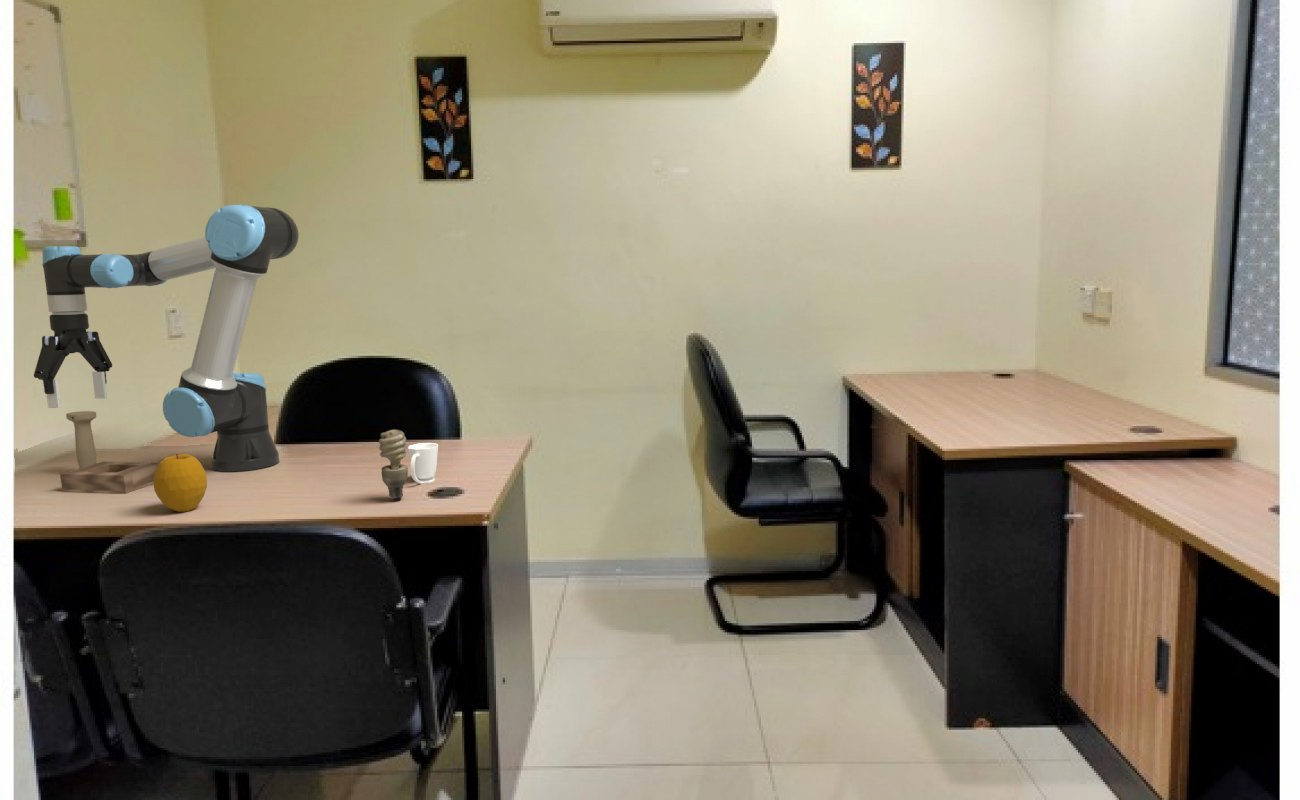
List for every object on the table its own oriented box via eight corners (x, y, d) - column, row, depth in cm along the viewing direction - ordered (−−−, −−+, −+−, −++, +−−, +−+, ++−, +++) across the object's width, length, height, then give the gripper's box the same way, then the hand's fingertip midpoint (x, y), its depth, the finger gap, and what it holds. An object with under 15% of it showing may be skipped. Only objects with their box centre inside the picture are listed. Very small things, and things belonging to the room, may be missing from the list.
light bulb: (413, 501, 180) (409, 430, 178) (387, 505, 177) (382, 433, 175) (405, 495, 185) (400, 426, 183) (379, 499, 182) (374, 429, 180)
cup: (446, 477, 200) (444, 442, 199) (428, 488, 190) (426, 452, 189) (417, 476, 201) (414, 442, 200) (398, 487, 192) (396, 451, 190)
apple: (171, 503, 182) (165, 448, 180) (218, 502, 183) (213, 447, 181) (147, 517, 172) (140, 459, 171) (197, 515, 173) (191, 457, 171)
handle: (90, 477, 206) (82, 415, 204) (69, 476, 208) (61, 414, 206) (108, 472, 211) (100, 411, 209) (86, 471, 213) (79, 410, 210)
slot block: (164, 479, 203) (163, 463, 202) (125, 493, 191) (123, 475, 190) (104, 478, 205) (102, 461, 205) (62, 491, 194) (60, 474, 193)
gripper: (96, 309, 216) (105, 394, 220) (7, 316, 192) (19, 411, 195) (123, 310, 215) (131, 395, 218) (36, 316, 191) (48, 412, 194)
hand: (78, 403), depth 207 cm, fingers open, 13 cm apart
